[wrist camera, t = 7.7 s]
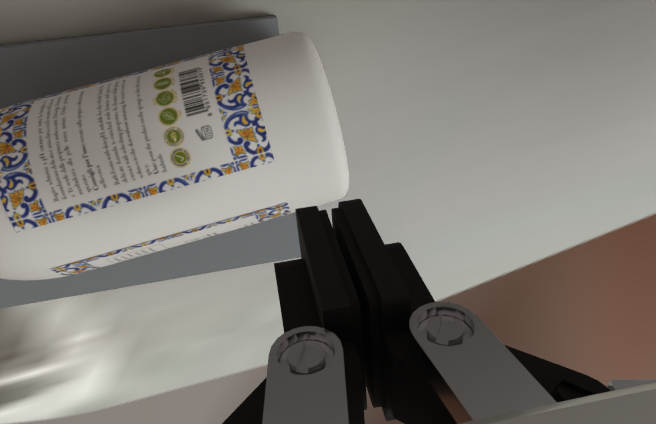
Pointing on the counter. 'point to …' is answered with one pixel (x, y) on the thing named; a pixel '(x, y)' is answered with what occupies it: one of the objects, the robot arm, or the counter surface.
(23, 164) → the bath foam
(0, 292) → the mat
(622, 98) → the counter surface
